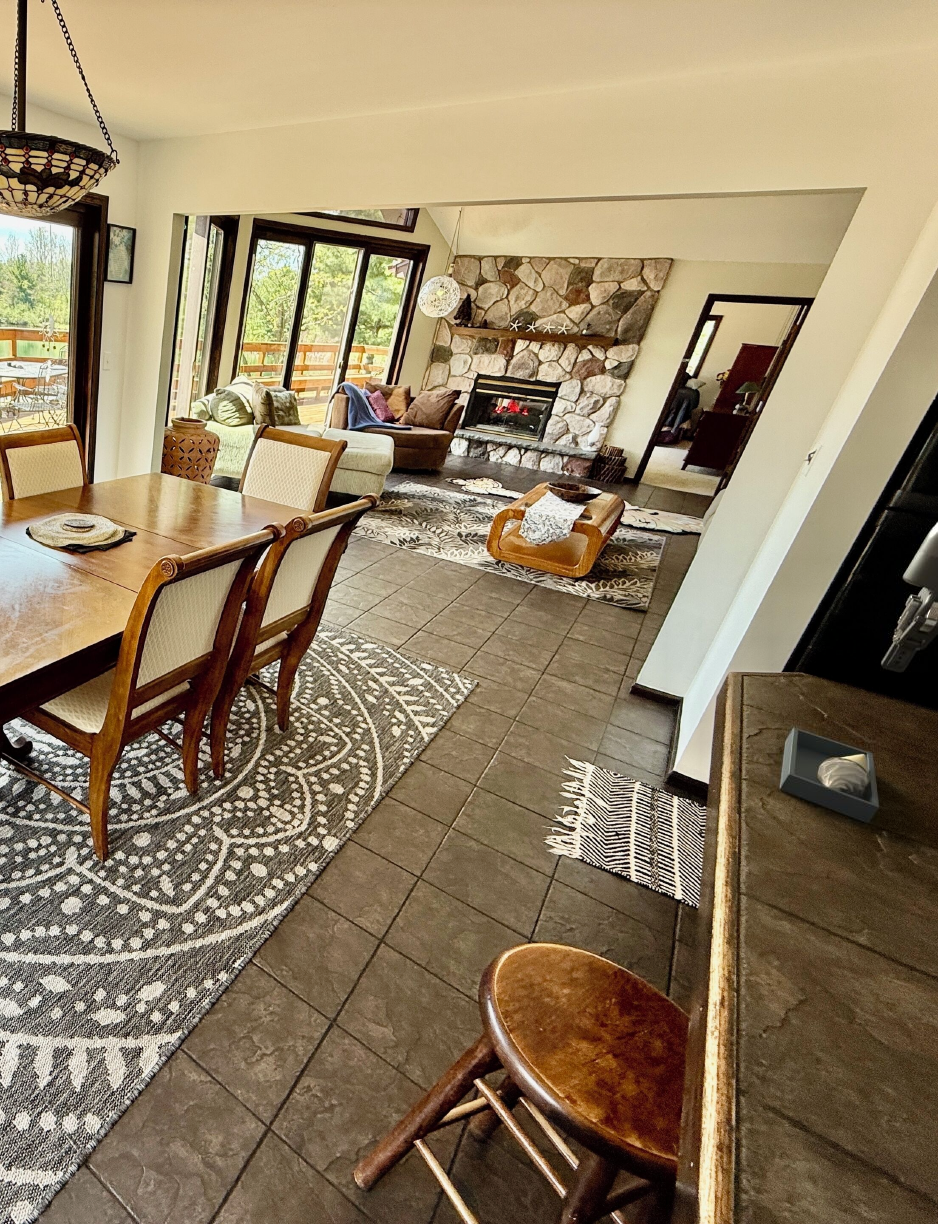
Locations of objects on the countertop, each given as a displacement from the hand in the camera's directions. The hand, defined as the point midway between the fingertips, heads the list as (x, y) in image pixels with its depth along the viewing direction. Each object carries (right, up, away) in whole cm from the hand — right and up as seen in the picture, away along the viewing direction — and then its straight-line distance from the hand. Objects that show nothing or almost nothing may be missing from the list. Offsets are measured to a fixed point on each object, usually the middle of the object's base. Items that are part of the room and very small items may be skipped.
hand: (891, 668), depth 92 cm
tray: (-3, -18, +7) cm, 19 cm away
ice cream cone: (+4, -14, +7) cm, 16 cm away
